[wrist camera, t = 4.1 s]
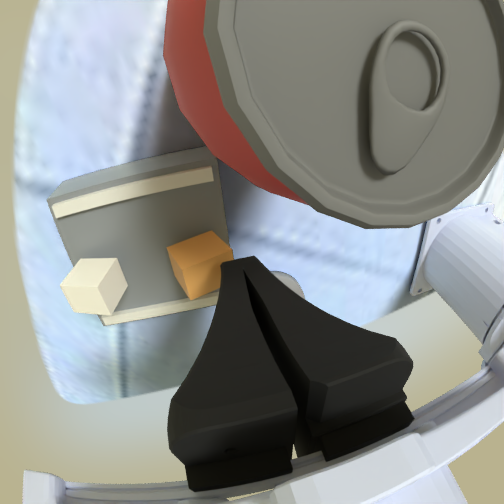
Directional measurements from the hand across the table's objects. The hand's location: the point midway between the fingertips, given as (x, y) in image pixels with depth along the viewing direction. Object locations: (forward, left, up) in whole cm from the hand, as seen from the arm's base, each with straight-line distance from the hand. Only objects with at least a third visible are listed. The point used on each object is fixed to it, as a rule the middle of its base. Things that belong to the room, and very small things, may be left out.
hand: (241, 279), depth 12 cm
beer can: (-2, -8, -6) cm, 10 cm away
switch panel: (+4, 0, -6) cm, 7 cm away
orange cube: (+2, 0, -3) cm, 4 cm away
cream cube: (+6, 0, -3) cm, 7 cm away
